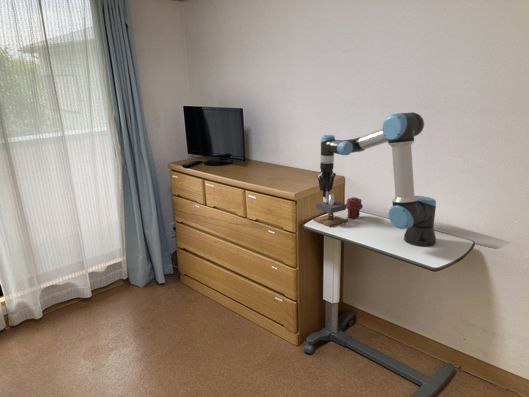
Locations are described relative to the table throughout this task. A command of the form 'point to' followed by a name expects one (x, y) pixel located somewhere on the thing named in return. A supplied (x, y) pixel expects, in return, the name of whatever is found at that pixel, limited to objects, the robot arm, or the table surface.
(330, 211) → the collar
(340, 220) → the base
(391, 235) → the table surface
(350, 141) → the robot arm
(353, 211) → the mechanical component
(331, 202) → the post
